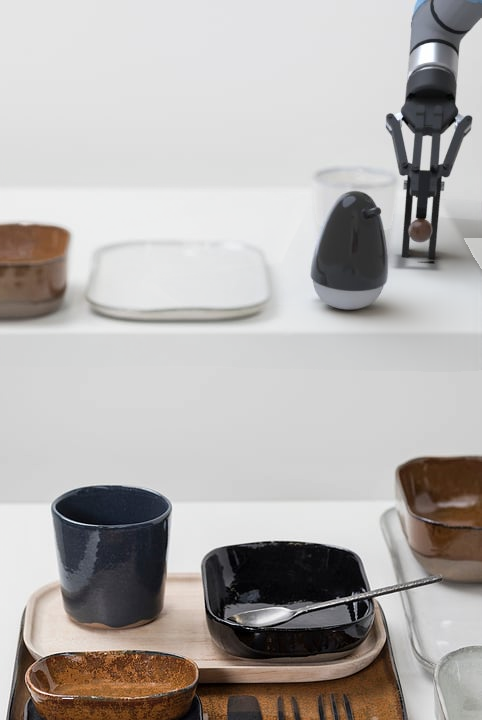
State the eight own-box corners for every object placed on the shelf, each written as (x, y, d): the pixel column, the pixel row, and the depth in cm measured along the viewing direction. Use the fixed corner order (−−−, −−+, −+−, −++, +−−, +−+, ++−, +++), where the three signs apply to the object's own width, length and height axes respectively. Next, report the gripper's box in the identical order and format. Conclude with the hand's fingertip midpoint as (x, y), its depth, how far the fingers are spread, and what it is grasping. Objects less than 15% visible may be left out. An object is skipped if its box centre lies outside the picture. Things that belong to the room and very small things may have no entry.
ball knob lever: (431, 247, 158) (432, 230, 155) (407, 246, 158) (408, 229, 156) (434, 188, 165) (436, 170, 163) (412, 187, 166) (413, 170, 163)
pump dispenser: (334, 321, 140) (344, 206, 133) (294, 295, 148) (301, 185, 141) (400, 310, 144) (413, 198, 137) (357, 285, 152) (367, 178, 145)
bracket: (437, 270, 164) (445, 178, 159) (397, 269, 165) (403, 176, 160) (437, 259, 171) (445, 170, 166) (398, 257, 172) (405, 168, 167)
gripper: (473, 99, 168) (465, 229, 159) (387, 98, 170) (375, 225, 161) (478, 66, 161) (470, 199, 152) (389, 64, 163) (376, 196, 155)
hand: (421, 213), depth 157 cm, fingers closed
